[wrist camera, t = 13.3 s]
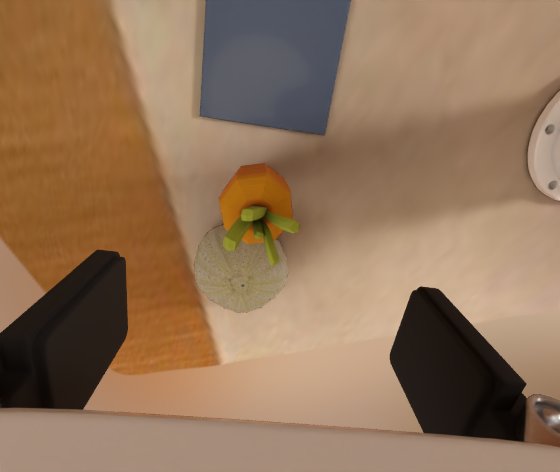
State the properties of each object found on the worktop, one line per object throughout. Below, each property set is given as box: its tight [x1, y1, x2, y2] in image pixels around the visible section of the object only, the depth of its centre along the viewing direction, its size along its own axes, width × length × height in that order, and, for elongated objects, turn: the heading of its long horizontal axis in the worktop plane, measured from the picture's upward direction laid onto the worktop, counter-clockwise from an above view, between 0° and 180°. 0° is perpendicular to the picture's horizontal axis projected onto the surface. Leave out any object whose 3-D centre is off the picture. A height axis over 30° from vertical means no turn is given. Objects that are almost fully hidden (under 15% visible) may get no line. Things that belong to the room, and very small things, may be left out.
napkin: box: [200, 0, 351, 135], centre depth 26 cm, size 11×11×1 cm
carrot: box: [219, 163, 300, 266], centre depth 23 cm, size 5×5×15 cm
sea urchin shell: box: [194, 225, 288, 313], centre depth 31 cm, size 9×8×8 cm
